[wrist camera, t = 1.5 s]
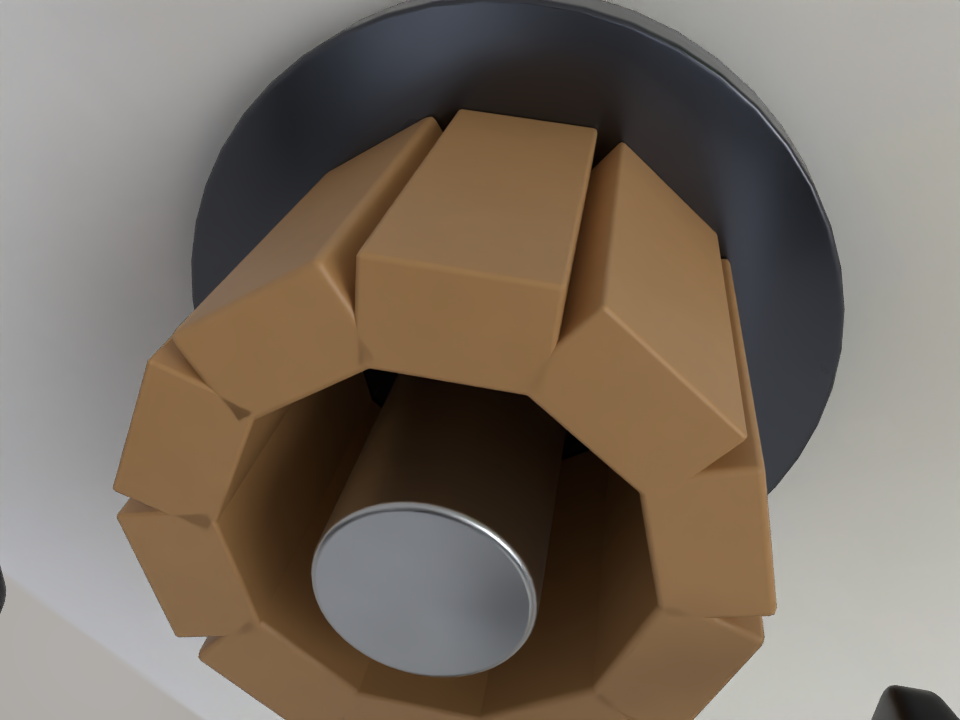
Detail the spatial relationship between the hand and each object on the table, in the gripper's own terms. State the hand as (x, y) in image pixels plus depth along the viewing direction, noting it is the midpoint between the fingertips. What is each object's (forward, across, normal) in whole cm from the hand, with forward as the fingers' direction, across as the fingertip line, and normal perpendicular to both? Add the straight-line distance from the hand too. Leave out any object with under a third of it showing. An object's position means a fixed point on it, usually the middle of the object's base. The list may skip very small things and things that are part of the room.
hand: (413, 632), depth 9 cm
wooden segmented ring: (+6, 0, 0) cm, 6 cm away
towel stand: (+7, 0, 0) cm, 7 cm away
